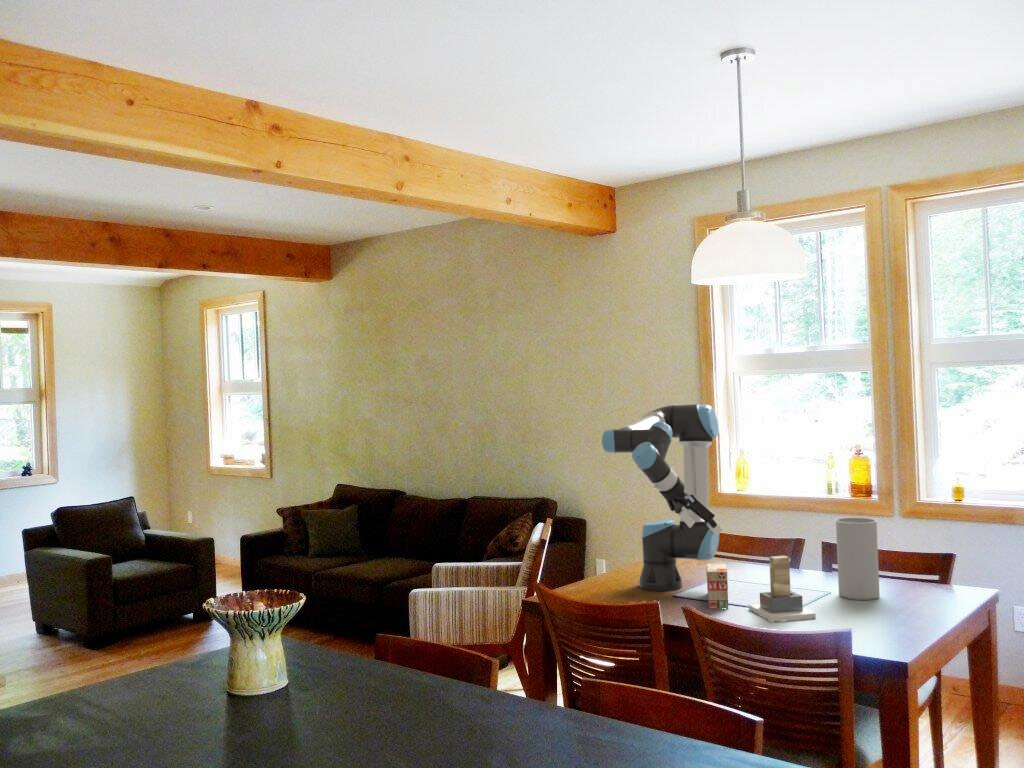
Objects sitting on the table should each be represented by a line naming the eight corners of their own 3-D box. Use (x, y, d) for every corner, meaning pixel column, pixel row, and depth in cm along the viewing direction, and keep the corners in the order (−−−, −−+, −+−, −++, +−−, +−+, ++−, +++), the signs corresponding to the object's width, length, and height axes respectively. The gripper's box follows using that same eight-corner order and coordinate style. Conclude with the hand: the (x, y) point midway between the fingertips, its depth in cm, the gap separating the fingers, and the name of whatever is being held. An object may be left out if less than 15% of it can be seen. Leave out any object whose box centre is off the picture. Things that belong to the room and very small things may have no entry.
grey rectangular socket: (760, 607, 275) (759, 592, 275) (790, 604, 277) (789, 590, 277) (772, 613, 267) (771, 598, 267) (802, 610, 269) (802, 595, 269)
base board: (748, 609, 278) (748, 604, 278) (790, 606, 281) (789, 601, 281) (772, 622, 263) (772, 617, 263) (815, 618, 265) (815, 613, 265)
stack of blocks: (707, 594, 302) (705, 558, 302) (726, 594, 301) (724, 558, 301) (708, 609, 281) (707, 570, 281) (728, 609, 280) (727, 570, 280)
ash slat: (771, 608, 273) (769, 556, 273) (786, 607, 274) (784, 555, 274) (775, 610, 270) (773, 558, 270) (791, 609, 271) (789, 557, 271)
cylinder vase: (838, 599, 287) (835, 522, 287) (838, 591, 298) (835, 517, 299) (880, 601, 282) (877, 523, 283) (878, 592, 294) (875, 517, 294)
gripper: (638, 486, 286) (674, 529, 293) (685, 498, 263) (723, 545, 270) (652, 469, 288) (688, 513, 295) (700, 480, 265) (737, 527, 272)
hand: (705, 528), depth 283 cm, fingers open, 13 cm apart
